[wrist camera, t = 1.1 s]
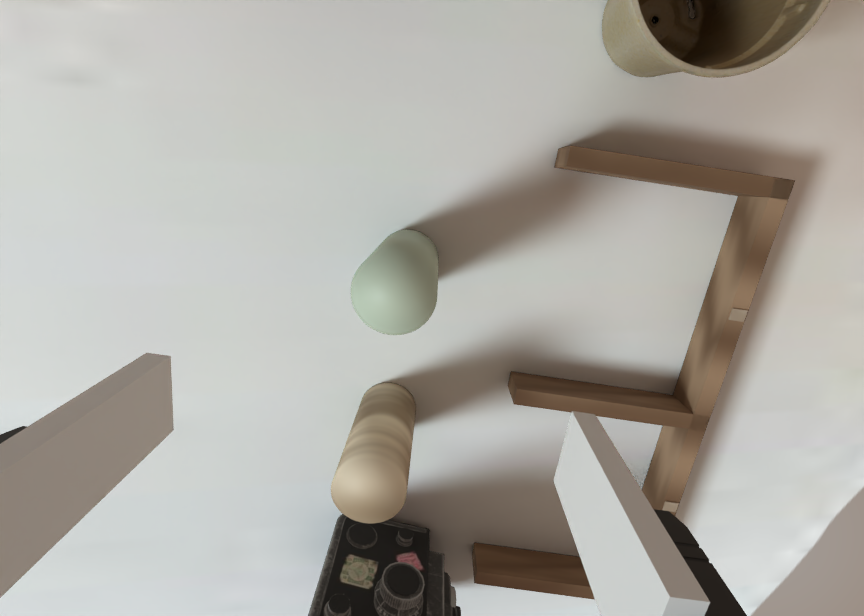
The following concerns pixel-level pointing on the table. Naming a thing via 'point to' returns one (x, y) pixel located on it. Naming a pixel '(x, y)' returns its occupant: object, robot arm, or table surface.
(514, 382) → the rack
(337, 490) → the beech post
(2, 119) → the table surface
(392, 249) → the sage post
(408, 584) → the camera
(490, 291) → the table surface
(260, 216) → the table surface
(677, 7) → the flower pot
